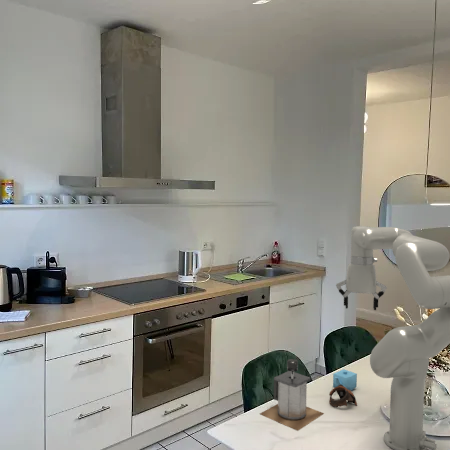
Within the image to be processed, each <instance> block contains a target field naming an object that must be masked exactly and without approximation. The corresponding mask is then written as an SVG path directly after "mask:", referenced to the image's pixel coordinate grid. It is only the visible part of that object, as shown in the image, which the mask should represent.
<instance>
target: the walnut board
mask: <svg viewBox="0 0 450 450" xmlns="http://www.w3.org/2000/svg"><path fill="white" fill-rule="evenodd" d="M324 414H325V413H324V412H321V411H319V410H316V409H314V408H311V407H309V406H306V417H305V418H304V419H302V420H298V421H290V420H285V419H283V418H281V417H280V416H279V415H278V403H277V404H275V405H273V406H271V407H269V408H268V409H265V410H264V411H262V412H260V413H259V415H260V416H263V417H265V418H268V419H269V420H272V421H274V422H276V423H279V424H280V425H284V426H286V427H288V428H290V429H292V430H295V431H297V432H299V431H300V430H302V429H303V428H305V427H306V426H307V425H310V424H311V423H313V422H314V421H315V420H316V419H318V418H320V417H321V416H323V415H324Z"/></svg>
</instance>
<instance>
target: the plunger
mask: <svg viewBox="0 0 450 450" xmlns="http://www.w3.org/2000/svg"><path fill="white" fill-rule="evenodd" d="M286 368H287V369H286V370H287V371H291V379H293V377H294V372H295V373H296V372H297V371H298V370H299V369H298V368H299V361H298V359H295V358H294V359H293V358H292V359H291V358H290V359H287V360H286Z"/></svg>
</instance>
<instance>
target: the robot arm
mask: <svg viewBox="0 0 450 450" xmlns="http://www.w3.org/2000/svg"><path fill="white" fill-rule="evenodd" d="M350 231H351V232H350V236H351V237H350V263H349V264H348V265H347V269H346V271H347V272H346V278H345V279H344V280H342V281H340V282H338V283H336V284H335V286H336V288H337V291H338V293H340V295H341V296H342V297H343V306H345V309H348V308H349V297H348V296H349V295H350V293H355V294H370V295H371V294H372V295H373V307H372V309H373V311H377V308H379V299H380V298H381V297H382V296H383V295H384V294H385V292H386V290H387V289H388V286H387V285H385V284H383V283H381V282H379V281H378V280H377V273H376V265H375V264H374V263H377V262H378V258H375V257H374V251H375V250H392V254H393V256H394V257H395V264H396V265H397V268H398V270H399V272H400V275H401V277H402V279H403V281H404V283H405V285H406V286H407V288H408V292H409V293H410V295H411V297H412V298H413V300H414V302H415V303H416V304H417V305H418V306H419V307H421V308H423V309H426V310H434V311H433V312H432V313H431V314H430V315H428V316H427V318H426V319H425V320H423V321H422V322H420V323H418V324H415V325H407V326H406V325H405V326H398V327H394V328H393V329H391V330H389V331H388V332H386V334H385V335H384V336H383V337H382V338H381V339H380V340H379V342H378V343H377V344H376V345H375V346H374V347H373V348H372V350H371V353H370V356H369V365H370V367H371V369H372V372H373V373H374V374H375V375H376V376H377V377H380V378H383V379H390V378H391V379H392V380H391V385H390V398H389V399H390V404H389V429H388V431H386V432H384V435H383V440H384V443H385V444H386V445H387V446H388V447H389V448H390V449H392V450H428V449H430V450H437V449H438V448H437V447H438V445H437V443H436V440H435V439H432V438H430V437H428V436H426V435H427V432H426V430H424V429H423V428H424V403H425V385H426V378H427V373H428V370H429V364H430V359H431V358H434V357H435V356H437V355H438V354H439V353H441V351H443V350H444V349H446V348H447V346H449V345H450V274H449V275H436V276H435V275H433V276H431V275H430V273H429V272H433V271H434V272H435V271H439V270H441V269H443V268H445V267H446V265H448V263H449V261H450V252H449V249H448V248H447V247H446V246H445V245H444V244H442V243H441V242H438V241H436V240H431V239H428V238H424V237H421V236H417V235H413V234H412V232H411V231H409V230H406V229H403V228H398V227H394V226H377V227H372V226H368V225H367V226H366V225H359V226H358V225H357V226H353V227H352V229H351V230H350ZM344 285H345V286H346V287H345V288H346V290H343V289H342V286H344ZM377 287H379V288H380V291H379V292H377ZM436 309H437V310H436Z"/></svg>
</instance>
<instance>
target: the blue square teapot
mask: <svg viewBox="0 0 450 450" xmlns="http://www.w3.org/2000/svg"><path fill="white" fill-rule="evenodd" d="M332 376H333V377H332V387H333V389H334V388H335V387H338V385H340V384H342V385H343V386H344V387H345V388H347V389H348V390H350V391H354V389H355V388H357V384H358V383H357V381H358V379H357V378H358V373H355V372H353V371H350V370H348V369H341V370H338V371H336V372H334V373H333V374H332Z"/></svg>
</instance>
